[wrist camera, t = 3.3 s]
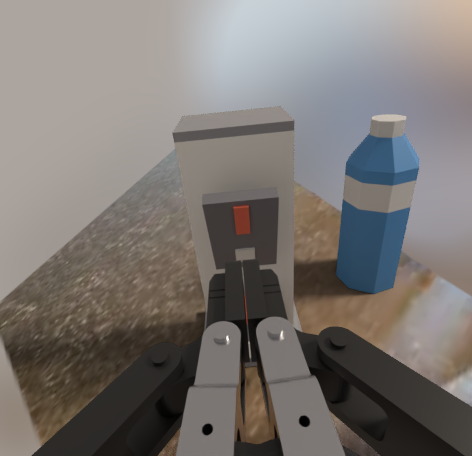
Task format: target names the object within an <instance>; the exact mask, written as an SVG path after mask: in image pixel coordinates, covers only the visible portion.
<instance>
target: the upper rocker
mask: <svg viewBox="0 0 472 456" xmlns="http://www.w3.org/2000/svg"><path fill="white" fill-rule="evenodd" d="M202 207H203V211H204V216H205V220H206V225H207V230H208V234H209V239H210V243H211V248H212V252H213V257H214V261H215V266H216V270H217V269H225V262H227V261H238V260H241V265H242V267H243V262H242V260H249V259H258V260H259V265H270V264H276V263H277V237H278V210H279V195H278V191H277V187H271V188H261V189H251V190H241V191H231V192H221V193H210V194H202Z"/></svg>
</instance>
